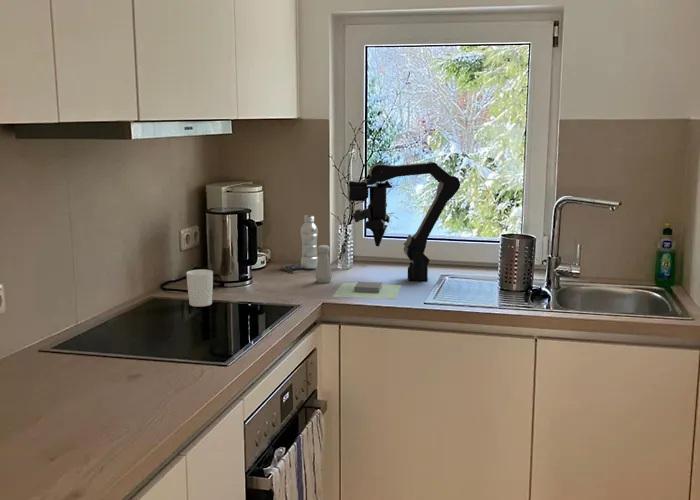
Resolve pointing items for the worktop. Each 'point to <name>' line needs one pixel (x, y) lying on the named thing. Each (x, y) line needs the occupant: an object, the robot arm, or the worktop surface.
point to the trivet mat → (384, 293)
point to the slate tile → (368, 287)
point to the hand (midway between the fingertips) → (377, 246)
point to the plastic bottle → (309, 243)
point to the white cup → (200, 287)
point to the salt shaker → (323, 265)
